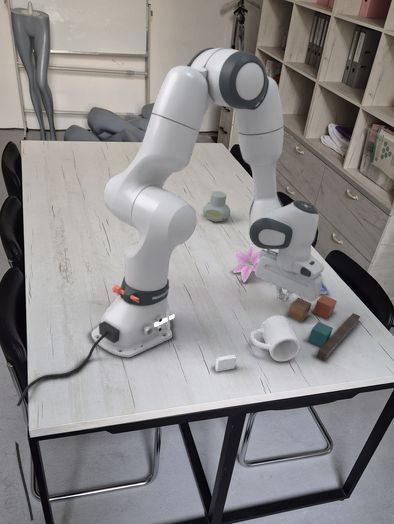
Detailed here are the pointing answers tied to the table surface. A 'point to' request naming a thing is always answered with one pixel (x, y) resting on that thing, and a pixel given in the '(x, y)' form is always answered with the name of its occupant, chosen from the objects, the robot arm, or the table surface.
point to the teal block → (320, 334)
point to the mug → (277, 338)
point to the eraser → (225, 363)
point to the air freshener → (217, 207)
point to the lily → (246, 262)
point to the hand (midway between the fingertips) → (282, 299)
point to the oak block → (299, 309)
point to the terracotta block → (324, 306)
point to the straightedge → (338, 337)
